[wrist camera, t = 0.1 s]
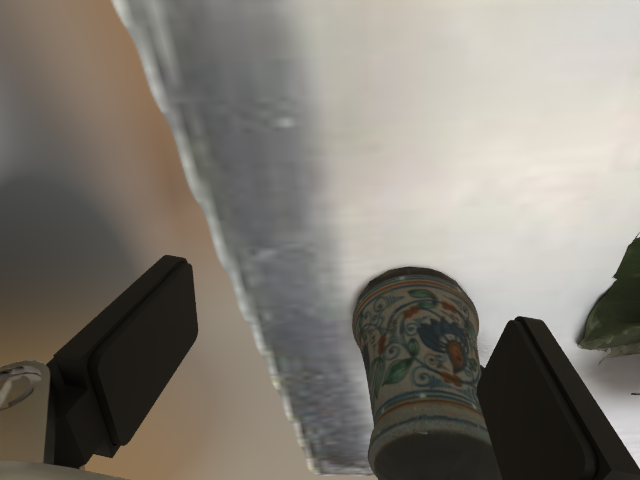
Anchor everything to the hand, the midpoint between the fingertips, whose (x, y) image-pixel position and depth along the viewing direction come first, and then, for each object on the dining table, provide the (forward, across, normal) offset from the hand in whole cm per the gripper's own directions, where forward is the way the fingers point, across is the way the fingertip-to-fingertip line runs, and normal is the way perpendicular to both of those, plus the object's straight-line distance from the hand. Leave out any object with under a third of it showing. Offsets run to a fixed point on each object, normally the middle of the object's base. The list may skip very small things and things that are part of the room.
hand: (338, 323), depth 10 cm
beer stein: (+31, -12, +23) cm, 41 cm away
